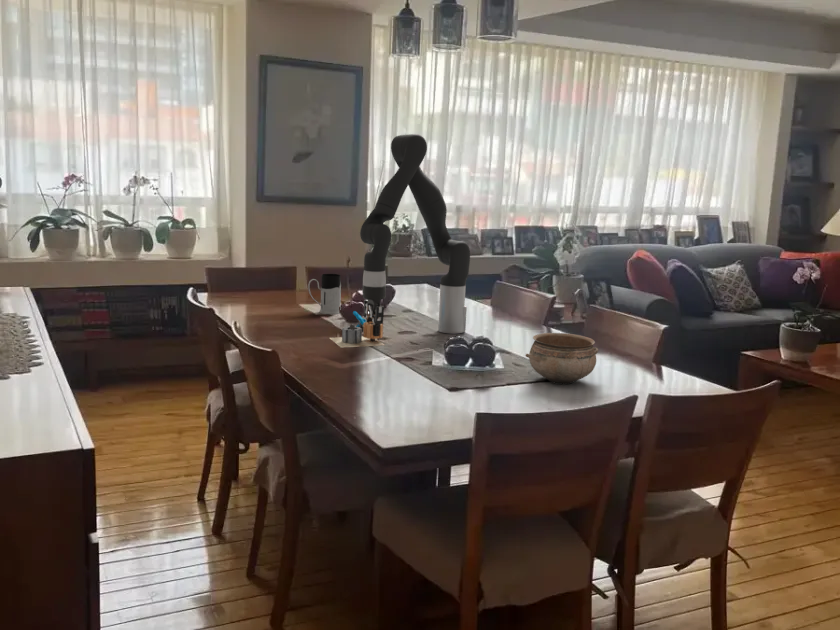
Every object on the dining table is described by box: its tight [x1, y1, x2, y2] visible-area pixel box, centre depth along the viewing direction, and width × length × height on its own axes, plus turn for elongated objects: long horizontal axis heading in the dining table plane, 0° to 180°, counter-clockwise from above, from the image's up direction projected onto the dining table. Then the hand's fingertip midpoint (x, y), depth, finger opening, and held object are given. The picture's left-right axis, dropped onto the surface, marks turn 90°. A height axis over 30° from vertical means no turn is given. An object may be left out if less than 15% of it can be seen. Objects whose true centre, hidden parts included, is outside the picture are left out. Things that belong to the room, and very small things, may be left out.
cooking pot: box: [524, 332, 599, 385], centre depth 218 cm, size 25×19×12 cm
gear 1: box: [341, 326, 363, 344], centre depth 251 cm, size 6×6×4 cm
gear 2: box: [362, 321, 384, 340], centre depth 253 cm, size 6×6×4 cm
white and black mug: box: [307, 273, 342, 315], centre depth 303 cm, size 9×14×15 cm, turn 124°
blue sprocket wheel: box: [352, 310, 367, 327], centre depth 272 cm, size 11×6×10 cm
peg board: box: [329, 323, 385, 349], centre depth 252 cm, size 15×14×7 cm
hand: (372, 333), depth 254 cm, fingers closed on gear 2, 6 cm apart
